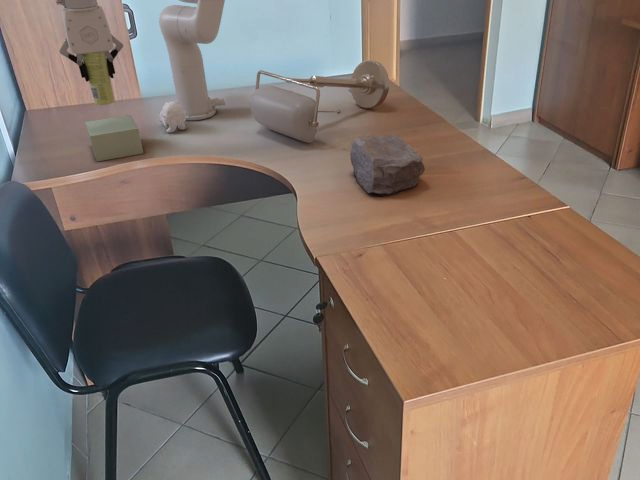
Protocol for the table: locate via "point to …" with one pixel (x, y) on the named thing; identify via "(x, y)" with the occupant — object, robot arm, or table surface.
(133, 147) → the block
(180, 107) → the white irregular rounded piece
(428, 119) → the table surface
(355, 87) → the lamp
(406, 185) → the stone block
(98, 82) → the tube
